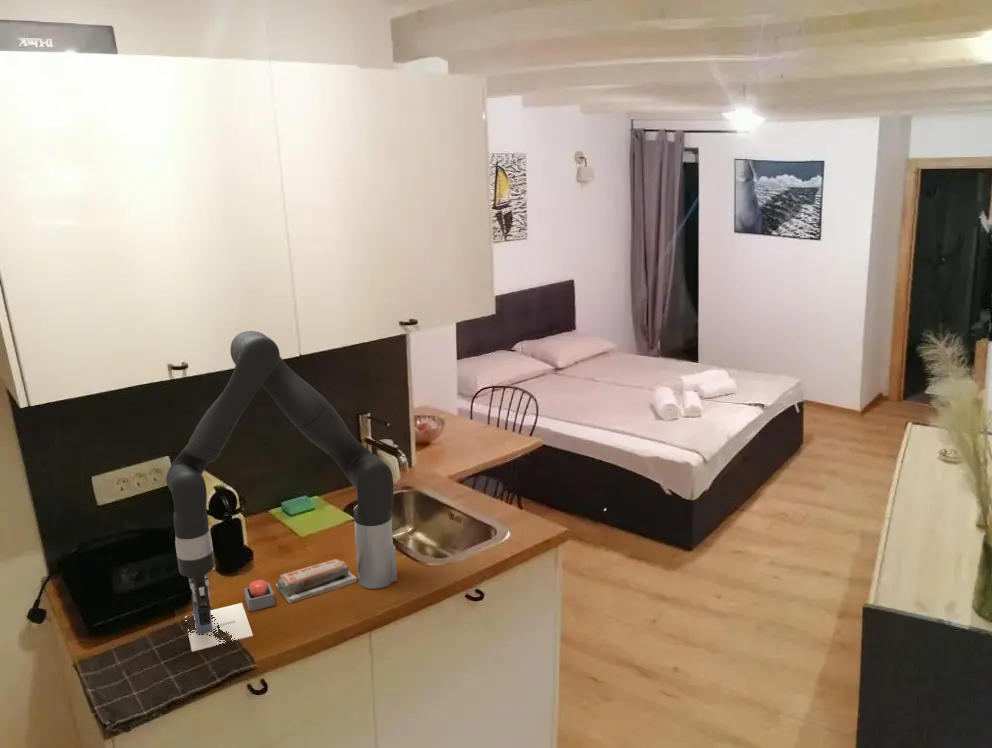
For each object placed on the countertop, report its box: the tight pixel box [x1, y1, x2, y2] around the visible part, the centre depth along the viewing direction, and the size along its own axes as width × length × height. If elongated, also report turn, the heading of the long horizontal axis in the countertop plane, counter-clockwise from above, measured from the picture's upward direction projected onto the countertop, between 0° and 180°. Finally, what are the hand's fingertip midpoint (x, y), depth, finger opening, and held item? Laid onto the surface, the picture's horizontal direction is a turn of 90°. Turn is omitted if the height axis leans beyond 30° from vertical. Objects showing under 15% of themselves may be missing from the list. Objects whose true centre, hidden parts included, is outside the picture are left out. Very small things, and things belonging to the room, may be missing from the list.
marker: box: [191, 593, 213, 634], centre depth 179 cm, size 4×4×9 cm
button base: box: [243, 582, 276, 613], centre depth 190 cm, size 6×6×3 cm
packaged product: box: [275, 558, 358, 604], centre depth 198 cm, size 18×5×10 cm
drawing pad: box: [184, 602, 254, 653], centre depth 181 cm, size 13×15×1 cm
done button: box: [249, 579, 268, 598], centre depth 190 cm, size 4×4×3 cm
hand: (203, 614), depth 179 cm, fingers open, 8 cm apart
